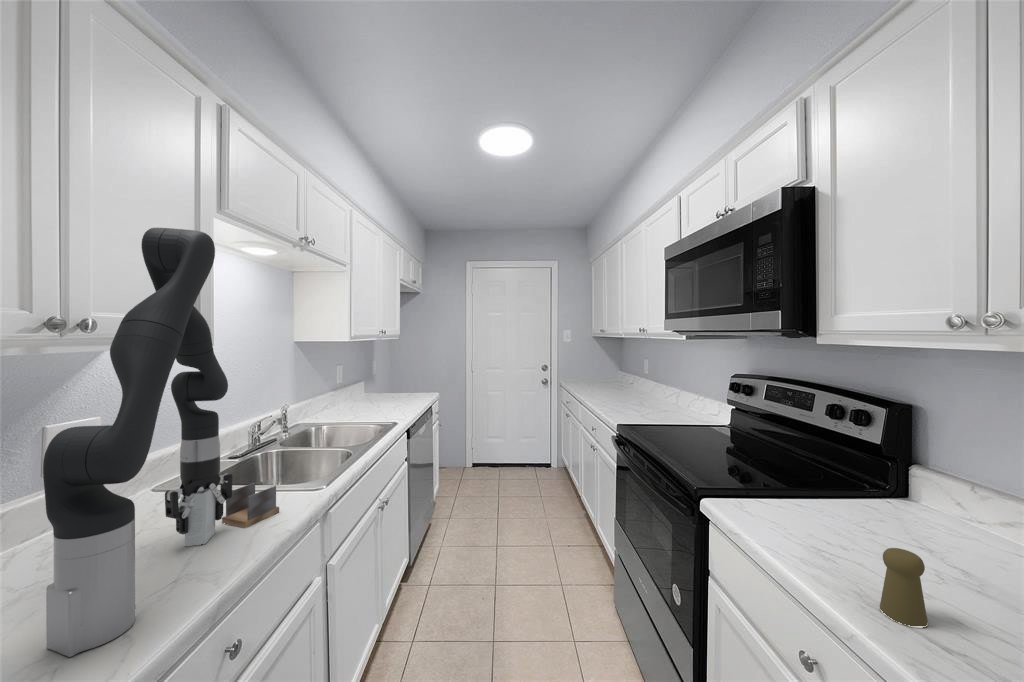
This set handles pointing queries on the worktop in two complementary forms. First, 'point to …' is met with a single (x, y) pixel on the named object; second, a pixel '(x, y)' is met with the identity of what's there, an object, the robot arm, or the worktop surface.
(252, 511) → the brown gray open holder
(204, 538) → the skincare box
